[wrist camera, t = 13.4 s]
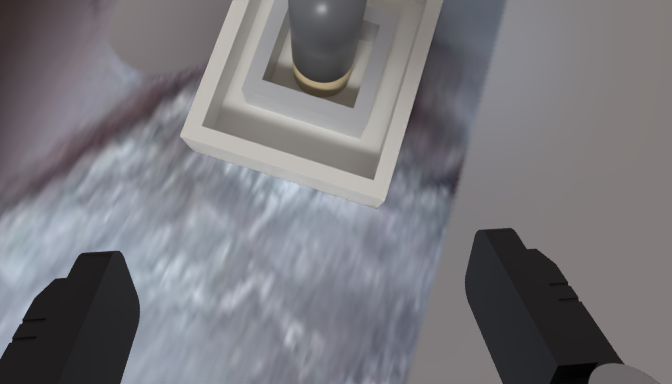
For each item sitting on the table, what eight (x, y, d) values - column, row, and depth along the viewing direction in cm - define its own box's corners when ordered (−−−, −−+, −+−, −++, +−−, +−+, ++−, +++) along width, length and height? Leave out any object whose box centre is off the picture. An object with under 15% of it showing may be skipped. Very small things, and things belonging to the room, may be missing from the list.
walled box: (193, 151, 32) (179, 136, 28) (269, -48, 34) (265, -84, 31) (376, 208, 32) (384, 200, 28) (436, 5, 35) (450, -25, 31)
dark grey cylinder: (281, 78, 32) (270, -9, 22) (312, 32, 32) (315, -72, 23) (331, 108, 32) (342, 34, 22) (361, 62, 32) (385, -30, 22)
